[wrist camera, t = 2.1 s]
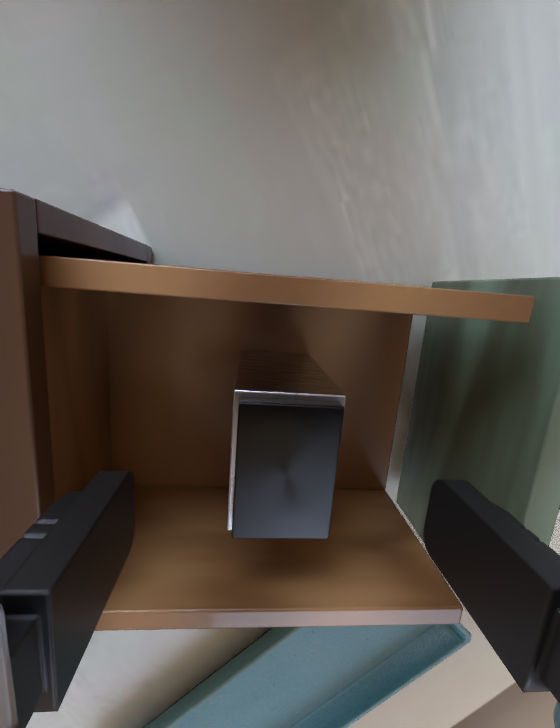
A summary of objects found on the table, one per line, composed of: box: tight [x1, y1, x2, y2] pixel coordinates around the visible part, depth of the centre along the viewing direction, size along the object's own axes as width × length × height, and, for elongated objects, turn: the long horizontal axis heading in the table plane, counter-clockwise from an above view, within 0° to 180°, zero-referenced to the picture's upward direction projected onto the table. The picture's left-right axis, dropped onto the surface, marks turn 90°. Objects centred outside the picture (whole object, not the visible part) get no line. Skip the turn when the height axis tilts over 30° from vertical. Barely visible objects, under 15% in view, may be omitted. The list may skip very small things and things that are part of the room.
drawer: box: [39, 255, 560, 631], centre depth 15 cm, size 24×13×9 cm, turn 86°
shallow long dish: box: [144, 623, 471, 728], centre depth 23 cm, size 26×9×2 cm, turn 131°
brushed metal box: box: [226, 350, 346, 539], centre depth 14 cm, size 4×5×8 cm
